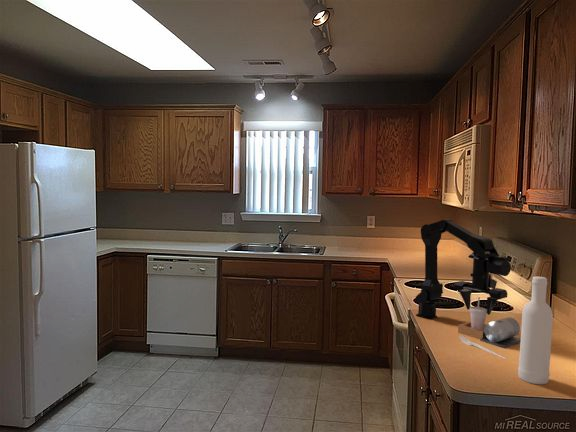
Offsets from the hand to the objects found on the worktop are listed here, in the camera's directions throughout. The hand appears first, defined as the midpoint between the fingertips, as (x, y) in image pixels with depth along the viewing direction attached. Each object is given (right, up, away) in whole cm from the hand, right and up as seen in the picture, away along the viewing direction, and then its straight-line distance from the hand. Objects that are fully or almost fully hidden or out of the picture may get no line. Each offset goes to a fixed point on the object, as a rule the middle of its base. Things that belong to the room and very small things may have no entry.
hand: (478, 311), depth 173 cm
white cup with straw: (0, -9, +1) cm, 9 cm away
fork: (-5, -10, -16) cm, 19 cm away
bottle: (-1, -11, -40) cm, 42 cm away
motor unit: (+2, -9, -3) cm, 10 cm away
